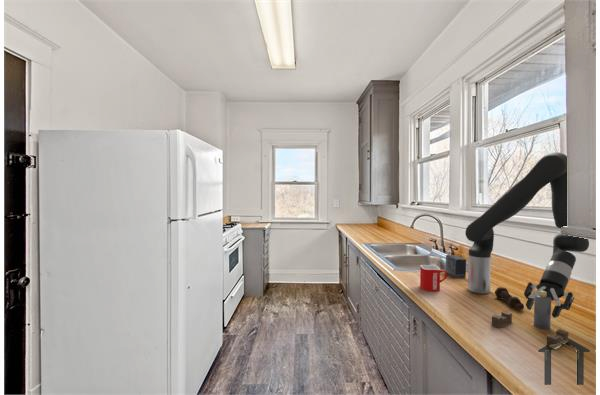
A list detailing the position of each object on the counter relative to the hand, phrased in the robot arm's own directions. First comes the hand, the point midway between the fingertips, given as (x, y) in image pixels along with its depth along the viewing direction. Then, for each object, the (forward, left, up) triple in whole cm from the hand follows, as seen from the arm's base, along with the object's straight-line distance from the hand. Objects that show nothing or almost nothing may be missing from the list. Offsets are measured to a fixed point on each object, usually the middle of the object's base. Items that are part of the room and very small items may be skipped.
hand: (540, 312), depth 112 cm
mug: (-3, -46, -6) cm, 46 cm away
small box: (-32, -54, -6) cm, 63 cm away
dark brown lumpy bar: (-14, -17, -6) cm, 22 cm away
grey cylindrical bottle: (-2, 0, -6) cm, 6 cm away
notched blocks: (+9, 0, -6) cm, 11 cm away
